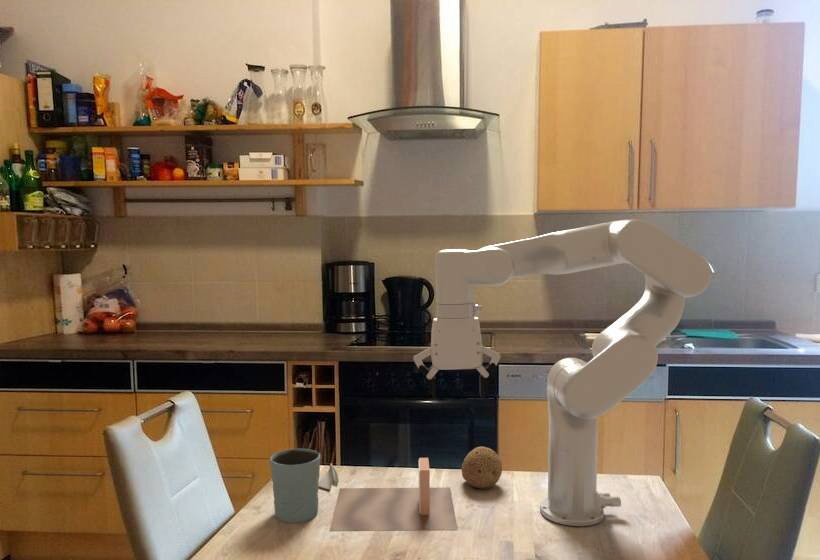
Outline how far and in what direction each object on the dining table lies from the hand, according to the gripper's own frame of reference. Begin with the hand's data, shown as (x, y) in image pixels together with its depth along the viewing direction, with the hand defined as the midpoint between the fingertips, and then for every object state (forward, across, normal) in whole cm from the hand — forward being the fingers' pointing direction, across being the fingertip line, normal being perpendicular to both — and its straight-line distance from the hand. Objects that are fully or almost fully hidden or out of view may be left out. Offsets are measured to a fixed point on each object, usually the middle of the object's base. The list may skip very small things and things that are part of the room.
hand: (458, 396), depth 128 cm
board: (+24, +14, 0) cm, 27 cm away
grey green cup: (+23, +34, 0) cm, 41 cm away
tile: (+22, +8, 0) cm, 24 cm away
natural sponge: (+25, -5, -11) cm, 27 cm away
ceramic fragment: (+24, +29, -16) cm, 41 cm away
